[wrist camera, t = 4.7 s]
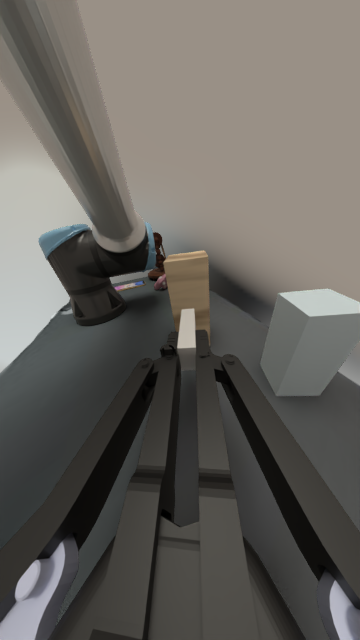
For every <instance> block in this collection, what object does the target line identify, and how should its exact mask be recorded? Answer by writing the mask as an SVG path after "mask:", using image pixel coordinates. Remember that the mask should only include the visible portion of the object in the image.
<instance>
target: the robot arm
mask: <svg viewBox="0 0 360 640" xmlns="http://www.w3.org/2000/svg"><path fill="white" fill-rule="evenodd" d="M0 80H1V82H2V83H3V85H4V86H5V88H6V89H7V91H8V92H9V94H10V95H11V97H12V99H13V100H14V102H15V103H16V105H17V106H18V108H19V109H20V111H21V112H22V114H23V116H24V117H25V119H26V120H27V122H28V123H29V125H30V127H31V128H32V130H33V131H34V133H35V134H36V136H37V137H38V139H39V140H40V142H41V144H42V145H43V147H44V148H45V150H46V151H47V153H48V154H49V156H50V158H51V159H52V161H53V162H54V164H55V165H56V167H57V168H58V170H59V172H60V173H61V175H62V176H63V178H64V179H65V181H66V182H67V184H68V185H69V187H70V188H71V190H72V192H73V193H74V195H75V196H76V198H77V199H78V201H79V203H80V204H81V206H82V207H83V209H84V210H85V212H86V213H87V215H88V217H89V218H90V220H91V221H92V223H93V226H92V230H91V229H90V228H89V227H88V225H86V224H77V225H72V226H66V227H62V228H59V229H55V230H52V231H49V232H47V233H45V234H43V235H42V236H41V237H40V238H39V245H40V247H41V248H42V251H43V253H44V255H45V258H46V259H47V260H48V261H49V263H50V265H51V266H52V268H53V270H54V271H55V273H56V275H57V276H58V278H59V280H60V281H61V283H62V285H63V286H64V288H65V289H66V291H67V293H68V294H69V296H70V300H71V305H72V310H73V316H74V318H75V320H76V321H77V323H78V324H79V325H84V326H89V325H96V324H100V323H103V322H106V321H109V320H111V319H113V318H115V317H117V316H118V315H120V314H121V313H122V312H123V311H124V310H125V309H126V304H125V301H124V299H123V298H122V297H121V295H120V294H119V293H118V292H117V290H116V289H115V288H114V287H113V285H112V283H111V281H110V279H109V277H114V276H119V275H124V274H130V273H136V272H144V271H146V270H150V269H153V268H154V267H155V264H156V252H155V243H154V237H153V232H152V228H151V226H150V224H149V223H148V222H144V221H143V219H142V217H141V216H140V215H139V214H138V213H137V212H136V211H134V208H133V204H132V201H131V197H130V193H129V190H128V186H127V182H126V179H125V175H124V171H123V168H122V164H121V161H120V157H119V153H118V150H117V146H116V142H115V139H114V135H113V131H112V128H111V124H110V120H109V117H108V114H107V110H106V106H105V102H104V99H103V95H102V91H101V88H100V84H99V80H98V77H97V73H96V69H95V66H94V62H93V59H92V55H91V52H90V48H89V44H88V40H87V37H86V33H85V29H84V26H83V23H82V19H81V15H80V12H79V8H78V4H77V0H0ZM160 352H161V355H162V357H161V358H159V359H157V360H154V361H152V359H150V358H145V359H142V360H141V361H140V362H139V363H138V364H137V366H136V367H135V369H134V370H133V372H132V373H131V375H130V376H129V378H128V379H127V380H126V382H125V383H124V385H123V386H122V388H121V389H120V391H119V392H118V394H117V395H116V397H115V398H114V400H113V401H112V403H111V404H110V406H109V407H108V409H107V410H106V412H105V413H104V415H103V416H102V418H101V419H100V421H99V422H98V423H97V425H96V426H95V428H94V429H93V431H92V432H91V434H90V435H89V437H88V438H87V440H86V441H85V443H84V444H83V446H82V447H81V449H80V450H79V452H78V453H77V455H76V456H75V458H74V459H73V461H72V462H71V464H70V465H69V466H68V468H67V469H66V471H65V472H64V474H63V475H62V477H61V478H60V480H59V481H58V483H57V484H56V486H55V487H54V489H53V490H52V492H51V493H50V495H49V496H48V498H47V499H46V501H45V502H44V504H43V505H42V506H41V507H40V508H39V509H38V510H37V511H36V512H35V513H34V514H33V516H32V517H31V518H30V519H29V520H28V521H27V522H26V523H25V524H24V525H23V526H22V527H21V529H20V530H19V531H18V532H17V533H16V534H15V535H14V536H13V537H12V538H11V539H10V540H9V542H8V543H7V544H6V545H5V546H4V547H3V548H2V549H1V550H0V640H306V639H305V637H304V635H303V634H302V632H301V630H300V628H299V627H298V625H297V623H296V621H295V620H294V618H293V616H292V614H291V612H290V611H289V609H288V607H287V605H286V604H285V602H284V600H283V598H282V597H281V595H280V593H279V591H278V590H277V588H276V586H275V584H274V583H273V581H272V579H271V577H270V576H269V574H268V572H267V570H266V568H265V567H264V565H263V563H262V561H261V560H260V558H259V556H258V555H257V553H256V552H255V551H254V549H253V548H252V546H251V545H250V544H249V543H248V541H247V540H246V539H245V538H244V537H243V536H242V531H241V525H240V519H239V513H238V507H237V501H236V495H235V490H234V485H233V481H232V478H231V473H230V467H229V460H228V454H227V448H226V442H225V435H224V429H223V423H222V416H221V410H220V404H219V398H218V391H217V385H216V381H217V382H221V384H222V386H223V388H224V390H225V393H226V395H227V397H228V399H229V401H230V403H231V405H232V408H233V410H234V412H235V414H236V416H237V418H238V420H239V423H240V425H241V427H242V429H243V431H244V433H245V435H246V438H247V440H248V442H249V444H250V446H251V448H252V450H253V453H254V455H255V457H256V459H257V461H258V463H259V465H260V468H261V470H262V472H263V474H264V476H265V478H266V480H267V483H268V485H269V487H270V489H271V491H272V493H273V495H274V498H275V500H276V502H277V504H278V506H279V508H280V510H281V513H282V515H283V517H284V519H285V521H286V523H287V525H288V527H289V529H290V531H291V533H292V535H293V537H294V539H295V541H296V543H297V545H298V547H299V549H300V551H301V552H302V554H303V556H304V558H305V559H306V561H307V563H308V565H309V566H310V568H311V570H312V572H313V573H314V575H315V576H316V578H317V579H318V581H319V583H318V587H317V603H318V608H319V613H320V616H321V619H322V622H323V624H324V627H325V630H326V632H327V634H328V636H329V638H330V640H360V532H359V530H358V529H357V528H356V526H355V525H354V523H353V522H352V520H351V519H350V518H349V516H348V515H347V513H346V512H345V510H344V509H343V508H342V506H341V505H340V503H339V502H338V500H337V499H336V498H335V496H334V495H333V493H332V492H331V490H330V489H329V488H328V486H327V485H326V483H325V482H324V480H323V479H322V478H321V476H320V475H319V473H318V472H317V470H316V469H315V467H314V466H313V465H312V463H311V462H310V460H309V459H308V457H307V456H306V455H305V453H304V452H303V450H302V449H301V447H300V446H299V445H298V443H297V442H296V440H295V439H294V437H293V436H292V435H291V433H290V432H289V430H288V429H287V427H286V426H285V425H284V423H283V422H282V420H281V419H280V417H279V416H278V415H277V413H276V412H275V410H274V409H273V407H272V406H271V405H270V403H269V402H268V400H267V399H266V397H265V396H264V395H263V393H262V392H261V390H260V389H259V387H258V386H257V385H256V383H255V382H254V380H253V379H252V377H251V376H250V375H249V373H248V372H247V370H246V369H245V367H244V366H243V365H242V363H241V362H240V360H239V359H238V358H237V357H236V356H234V355H231V354H226V355H224V356H223V357H219V356H216V355H214V354H212V352H211V350H210V345H209V339H208V332H207V331H206V330H205V329H203V330H196V323H195V312H194V308H193V309H182V311H181V319H180V328H179V331H177V332H171V333H170V334H169V336H168V341H167V344H166V345H164V346H162V347H161V349H160ZM181 370H196V390H197V423H198V456H199V517H200V521H198V522H195V523H193V524H190V525H187V526H184V527H180V526H179V525H177V524H175V523H174V507H175V489H174V480H175V464H176V449H177V433H178V418H179V402H180V387H181ZM151 401H152V403H151ZM150 403H151V408H150V412H149V417H148V421H147V426H146V430H145V435H144V439H143V444H142V448H141V453H140V457H139V461H138V466H137V469H136V471H135V473H134V474H133V476H132V477H131V480H130V482H129V485H128V489H127V492H126V497H125V501H124V505H123V509H122V513H121V517H120V521H119V525H118V529H117V534H116V536H115V537H114V538H113V540H112V541H111V543H110V544H109V546H108V547H107V549H106V550H105V552H104V553H103V555H102V556H101V558H100V560H99V561H98V563H97V564H96V566H95V567H94V569H93V570H92V572H91V573H90V575H89V577H88V578H87V580H86V581H85V583H84V584H83V586H82V587H81V589H80V590H79V592H78V594H77V595H76V597H75V598H74V600H73V601H72V603H71V604H70V606H69V607H68V609H67V611H66V612H65V614H64V615H63V617H62V618H61V620H60V621H59V623H58V624H57V626H56V628H55V625H56V621H57V617H58V614H59V611H60V608H61V605H62V602H63V600H64V598H65V596H66V594H67V592H68V590H69V588H70V586H71V584H72V582H73V580H74V579H75V577H76V574H77V572H78V568H79V558H78V555H79V554H78V551H79V549H80V548H81V546H82V545H83V543H84V542H85V540H86V538H87V537H88V535H89V533H90V531H91V530H92V528H93V526H94V524H95V523H96V521H97V519H98V517H99V515H100V513H101V510H102V508H103V506H104V504H105V502H106V500H107V498H108V495H109V493H110V491H111V489H112V487H113V485H114V482H115V480H116V478H117V476H118V474H119V471H120V469H121V467H122V465H123V463H124V460H125V458H126V456H127V454H128V452H129V449H130V447H131V445H132V443H133V441H134V439H135V436H136V434H137V432H138V430H139V428H140V425H141V423H142V421H143V419H144V417H145V414H146V412H147V410H148V408H149V406H150Z"/></svg>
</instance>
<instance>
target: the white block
mask: <svg viewBox="0 0 360 640" xmlns="http://www.w3.org/2000/svg"><path fill="white" fill-rule="evenodd" d="M359 341H360V302H358V301H355V300H353V299H351V298H349V297H346V296H344V295H342V294H339V293H337V292H335V291H332V290H330V289H319V290H308V291H297V292H286V293H278V296H277V300H276V304H275V308H274V312H273V316H272V319H271V323H270V327H269V331H268V335H267V339H266V343H265V347H264V351H263V354H262V358H261V362H260V366H261V368H262V370H263V372H264V374H265V376H266V378H267V380H268V382H269V384H270V385H271V387H272V389H273V391H274V393H275V395H276V396H320V394H321V393H322V392H323V390H324V389H325V388H326V386H327V385H328V383H329V382H330V381H331V379H332V378H333V377H334V375H335V374H336V372H337V371H338V370H339V368H340V367H341V366H342V364H343V363H344V361H345V360H346V359H347V357H348V356H349V354H350V353H351V352H352V350H353V349H354V348H355V346H356V345H357V343H358V342H359Z"/></svg>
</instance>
